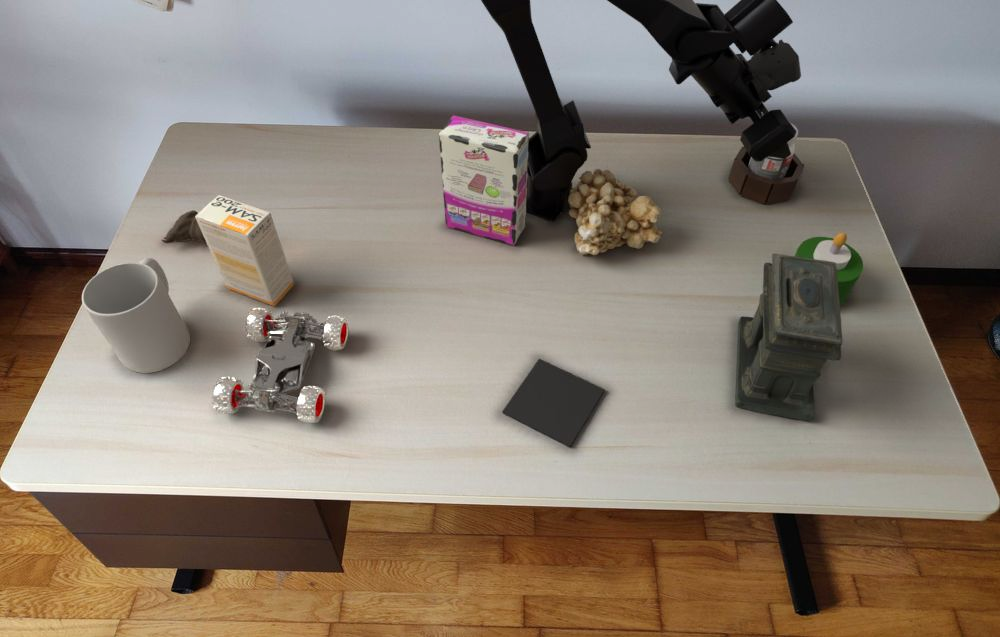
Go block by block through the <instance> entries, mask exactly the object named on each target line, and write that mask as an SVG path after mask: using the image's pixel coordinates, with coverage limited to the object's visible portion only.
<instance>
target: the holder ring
mask: <svg viewBox="0 0 1000 637" xmlns="http://www.w3.org/2000/svg"><path fill="white" fill-rule="evenodd" d="M750 159H751V156H750V155H749V154H748V152H747V150H746V149H745V147H744V145H742V146H741V148H740V149H739V151H738V153H737V154H736V156H735V157H734V161H733V163H732V166H731V169H730V171H729V175H728V178H727V179H728V182H729V183H730V185H731V187H732V188H733V189H734V190H735V192H736V193H737V194H738V196H740V197H741V198H744V199H747V200H750V201H752V202H755V203H758V204H760V205H766V206H767V205H773V204H778V203H784V202H789V201H790V200H791V199H792V197H793V194H794V193H795V190H796V188H797V186H798V184H799V181H800V179H801V176H802V174H803V172H804V169H805V164H804V163H803V162H802V161H801V159H800V158H799V157H798V156H797V154H796V152H794V155H793V157H792V160H791V162H790V165H789V167H788V170H787V172H786V175H785V177H784V178H782V179H776V180H771V179H768V178H765V177H762V176H759V175H756V174H753V173H751V172H750V171H749V169H748V165H749V162H750Z"/></svg>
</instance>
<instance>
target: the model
mask: <svg viewBox="0 0 1000 637" xmlns="http://www.w3.org/2000/svg"><path fill="white" fill-rule="evenodd" d="M736 342H737V344H736V368H735V369H736V370H735V393H734V394H735V397H734V399H735V404H734V405H735V407H736V408H740V409H743V410H744V409H745V410H749V411H752V412H757V413H763V414H769V415H773V416H778V417H785V418H790V419H795V420H802V421H807V422H811V421H812V420H813V419H814V417H815V382H816V381H817V380H818V379H819V378H820V377H821V371H822V369H823V367H824V365H825V364H826V363H827V361H828V360H829V361H840V360H841V359H842V345H843V342H844V341H843V332H842V316H841V306H840V301H839V289H838V277H837V267H836V263H835V262H830V261H823V260H816V259H809V258H802V257H795V255H789V254H788V255H787V254H780V253H772V254H771V263H770V262H765V263H764V264H763V279H762V293H761V294H759V300H758V305H757V309H756V311H755V313H754V315H753V316H740V317H739V320H738V323H737V341H736Z"/></svg>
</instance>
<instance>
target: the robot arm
mask: <svg viewBox="0 0 1000 637" xmlns="http://www.w3.org/2000/svg"><path fill="white" fill-rule="evenodd" d="M606 1H607V2H609V3H610V4H612V5H613V6H614V7H616V8H617V9H619V10H620V11H621V12H623V13H625V14H626V15H628V16H629V17H630V18H632V19H634V20H635V21H636V22H638V23H639V24H641V26H642V27H644V29H645V30H646V31H647V32H648V33H649V35H651V37H652V38H653V40H655V42H656V43H657V44H658V46H660V47H661V49H663V51H664V52H665V53H666V54H667V55H668V56H669V57H670V58H671V61H670V65H669V66H668V71H669V73H670V75H671V77H672V79H673V81H674V82H675V84H676V85H678V86H679V85H682V84H683V82H685V81H686V80H687V79H689V77H692V78H693V79H694V81H696V83H697V84H698V85H699V87H701V88H702V89H703V90H704V91H705V93H706V94H707V95H708V97H709V98H710V100H711V103H713V105H714V106H715V107H716V109H718V108H720V109H721V110H722V111H723V113H724V115H725V116H726V118H727V120H728V122H730V124H732V125H733V124H735V123H736V122H737V121H739V120H744V119H746V118H750V120H751V121H752V124H751V125H750V126H748V127H747V128H745V129H744V130H743V131H742V133H741V135H740V138H739V140H740V142H741V144H742V146H743V147H745V149H746V150H747V152H748V154H749V155H750V156H751V157H752V158H753V159H754V160H755V162H757V161H762V160H763V159H765V158H766V157H775V158H782V159H786V158H787V157H789V156H790V155H791V152H790V149H789V146H788V143H787V142H788V141H790V140H791V139H792V138H794V137H795V135H796V132H797V131H796V130H795V129H794V127H793V126H792V124H793V123H791V121H790V120H789V118H788V117H787V116H786V115H785V113H784V112H783V111H782V109H779V108H778V109H770V110H769V109H768V108H767V107H766V106H765V104H764V103H766V102H767V101H769V100H770V99H771V98H772V97H773V96H772V94H771V93H770V91H774V90H777V89H779V88H781V87H784V86H785V85H788V84H790V83H795V82H797V81H799V80H800V79H801V77H802V72H801V62H800V55H799V54H798V53H797V52H796V51H795V49H794V48H793V47H792V45H791V44H790V43H789V42H784V41H783V39H782V38H781V39H779V40H778V42H777V41H776V40H775V38H776V37H778V36H779V34H781V33H783V31H784V30H785V29H788V28H789V27H790V26H791V25H792V24H793V23H794V21H793V19H792V18H791V16H790V15H789V13H788V12H787V10H786V9H785V8H784V7H783V6H782V4H780V2H779V1H778V0H739V1H738V2H737V3H736V4H735V5H733V6H732V7H731V8H730V9H729V10H728V11H727V12H725V13H724V12H723V10H722V9H721V8H720V6H719V5H718V4H713V3H700V2H695V0H606ZM480 2H481V3H482V4H483V6H484V7H485V9H486V11H487V12H488V14H489V15H490V17H491V19H492V20H493V21H494V22H495V24H496V25H497V26H498V27H499V28H500V30H501V31H502V32H503V34H504V35H505V39H506V42H507V44H508V46H509V48H510V51H511V54H512V57H513V59H514V61H515V64H516V67H517V69H518V71H519V75H520V77H521V80H522V82H523V84H524V86H525V89H526V91H527V94H528V97H529V99H530V102H531V104H532V107H533V110H534V113H535V123H536V128H537V131H536V132H534V133H533V134H532V135H531V136H529V150H528V176H527V204H526V213H528V214H531V215H533V216H536V217H539V218H541V219H543V220H546V221H548V222H552V223H553V222H555V221H556V220H557V219H558V218H559V217H560V215H561V214H563V213H564V212H565V211H566V209H567V208H568V207H570V205H569V202H568V199H569V197H568V196H569V194H570V190H571V189H573V179H574V178H575V175H576V174H577V172H578V170H579V169H580V168H581V167H583V165H584V164H585V162H587V161H588V156H589V155H588V150H587V149H591V148H592V146H591V144H590V141H589V138H588V136H587V133H586V131H585V130H586V129H585V128H584V123H583V121H582V119H581V116H580V113H579V111H578V108H577V106H576V103H575V101H574V99H572V100H571V101H569V102H568V103H566V104H565V103H564V102H563V101H562V99H561V98H560V95H559V93H558V91H557V87H556V85H555V82H554V79H553V76H552V74H551V71H550V67H549V65H548V63H547V62H548V61H547V59H546V56H545V54H544V51H543V48H542V46H541V43H540V40H539V37H538V34H537V32H536V28H535V26H534V23H533V19H532V18H533V17H532V5H531V0H480ZM733 44H734V46H735V47H736V48H737V49H738V51H740V53H735V51H734V50H733V49H732V48H731V46H732V45H733ZM745 53H747V54H748V55H749V56H750V59H748V60H747V59H746V58H745V56H744V55H743V54H745Z"/></svg>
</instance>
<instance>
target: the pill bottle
mask: <svg viewBox="0 0 1000 637" xmlns="http://www.w3.org/2000/svg"><path fill="white" fill-rule="evenodd" d="M791 124H792V126H793V127H794V129H795V130H796V131H797V132H796V135H795V137H794V138H792V139H791V140H790V141H788V142H787V143H788V146H789V149H790V152H791V155H790V156H789V157H787V158H786V159H782V158H775V157H766V158H765V159H763V160H762V161H757V162H755V160H754V159H753V158H752V157H751V159H750V162H749V165H748V169H749V171H750V172H751V173H753V174H756V175H759V176H762V177H765V178H768V179H771V180H776V179H782V178H784V177H785V175H786V172H787V170H788V167H789V165H790V162H791V160H792V157H793V155H794V153H796V145H795V142H796V141H797V139H798V135H799V129H798V128H797V126H796V125H795V124H793V123H791Z"/></svg>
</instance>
